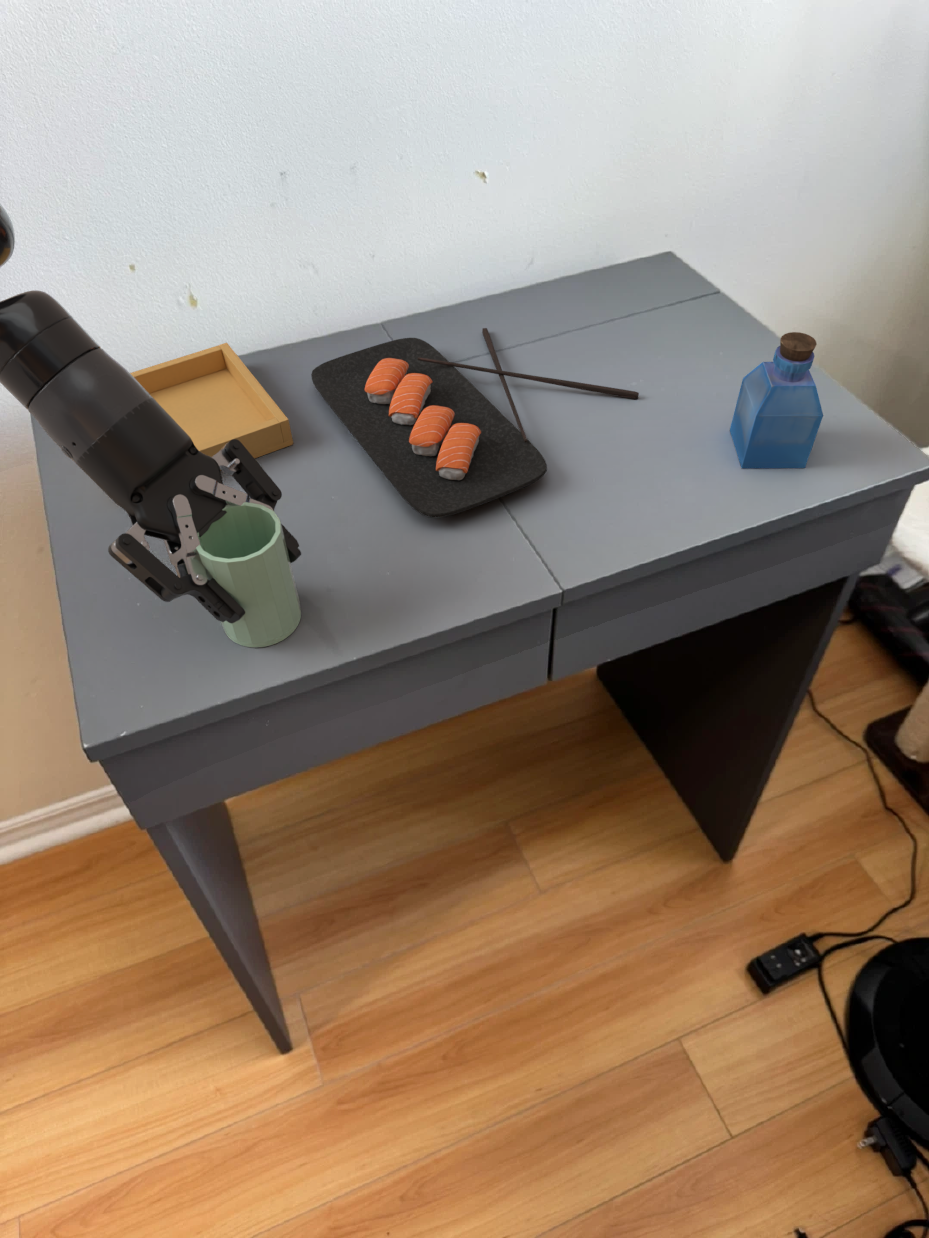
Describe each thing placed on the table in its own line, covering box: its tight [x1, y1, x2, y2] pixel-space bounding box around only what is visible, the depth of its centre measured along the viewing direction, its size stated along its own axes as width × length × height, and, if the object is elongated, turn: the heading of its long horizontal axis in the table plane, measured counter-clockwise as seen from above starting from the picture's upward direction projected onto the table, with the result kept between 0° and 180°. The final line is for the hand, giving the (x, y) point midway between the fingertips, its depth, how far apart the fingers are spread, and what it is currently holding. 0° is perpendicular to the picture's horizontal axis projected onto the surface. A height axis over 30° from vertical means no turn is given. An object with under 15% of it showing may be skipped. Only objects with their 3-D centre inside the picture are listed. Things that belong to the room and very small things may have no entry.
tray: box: [129, 342, 294, 472], centre depth 90 cm, size 18×17×3 cm
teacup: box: [196, 502, 302, 649], centre depth 70 cm, size 7×7×10 cm
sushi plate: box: [310, 327, 640, 518], centre depth 92 cm, size 29×30×4 cm
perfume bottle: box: [729, 331, 824, 469], centre depth 83 cm, size 6×6×12 cm
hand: (267, 587), depth 70 cm, fingers closed on teacup, 6 cm apart
